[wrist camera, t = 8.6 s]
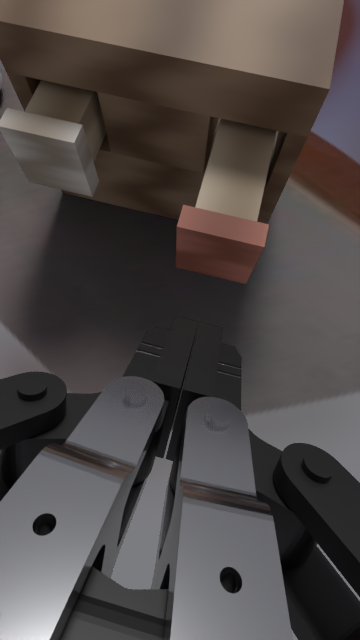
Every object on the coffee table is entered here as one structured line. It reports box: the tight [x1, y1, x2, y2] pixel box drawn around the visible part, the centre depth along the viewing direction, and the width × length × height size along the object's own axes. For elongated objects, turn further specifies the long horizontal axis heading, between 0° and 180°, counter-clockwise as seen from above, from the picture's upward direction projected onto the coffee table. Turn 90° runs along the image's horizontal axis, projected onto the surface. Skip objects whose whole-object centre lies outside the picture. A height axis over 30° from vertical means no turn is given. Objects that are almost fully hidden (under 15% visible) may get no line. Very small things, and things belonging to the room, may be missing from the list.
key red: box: [176, 119, 277, 284], centre depth 18 cm, size 4×9×4 cm, turn 166°
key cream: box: [0, 80, 106, 197], centre depth 20 cm, size 4×9×4 cm, turn 166°
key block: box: [0, 0, 344, 224], centre depth 22 cm, size 16×7×12 cm, turn 76°
